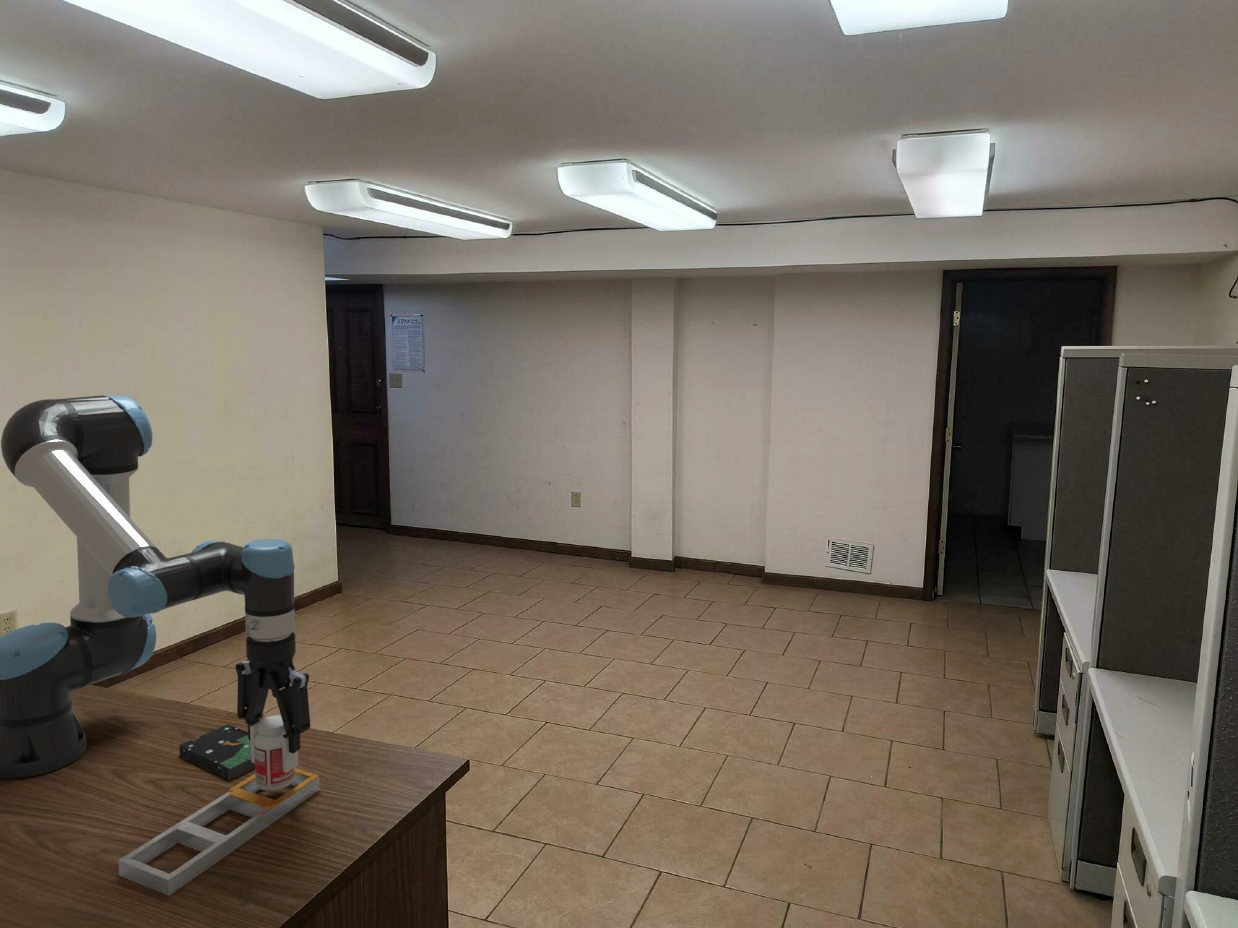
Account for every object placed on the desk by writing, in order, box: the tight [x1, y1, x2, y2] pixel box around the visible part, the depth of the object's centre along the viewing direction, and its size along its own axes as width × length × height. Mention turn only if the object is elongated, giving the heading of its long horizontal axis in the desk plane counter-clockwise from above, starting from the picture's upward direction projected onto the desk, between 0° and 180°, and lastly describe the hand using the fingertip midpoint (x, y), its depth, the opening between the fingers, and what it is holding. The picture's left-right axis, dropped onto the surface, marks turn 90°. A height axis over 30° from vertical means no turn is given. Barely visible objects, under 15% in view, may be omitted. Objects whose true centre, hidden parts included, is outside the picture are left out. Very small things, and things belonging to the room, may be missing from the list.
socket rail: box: [118, 767, 320, 897], centre depth 134 cm, size 10×30×3 cm, turn 158°
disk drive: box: [179, 723, 255, 781], centre depth 156 cm, size 10×3×15 cm
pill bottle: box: [254, 714, 296, 792], centre depth 142 cm, size 6×6×11 cm
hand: (274, 763), depth 142 cm, fingers closed on pill bottle, 6 cm apart
